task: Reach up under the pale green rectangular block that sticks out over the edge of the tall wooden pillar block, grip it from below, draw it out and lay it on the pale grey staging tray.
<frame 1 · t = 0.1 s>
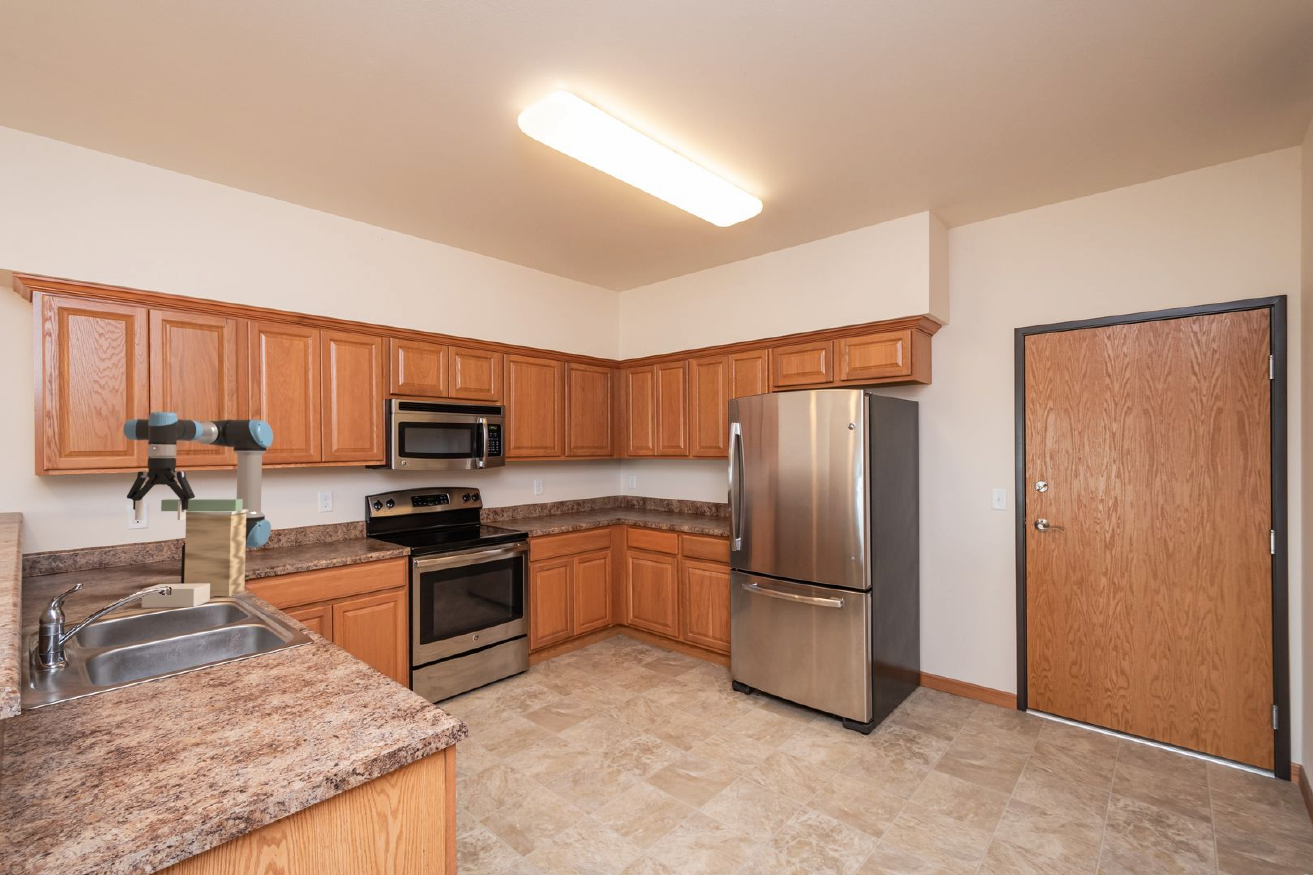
hand: (160, 519, 201), 28 cm above the worktop, tool pointing down, fingers open, 13 cm apart
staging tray: (176, 604, 199), on the worktop
pale green rectangular block: (202, 510, 213), point 30 cm above the worktop, touching tall wooden pillar block
tall wooden pillar block: (214, 594, 213), on the worktop
coffee jar: (198, 586, 225), on the worktop
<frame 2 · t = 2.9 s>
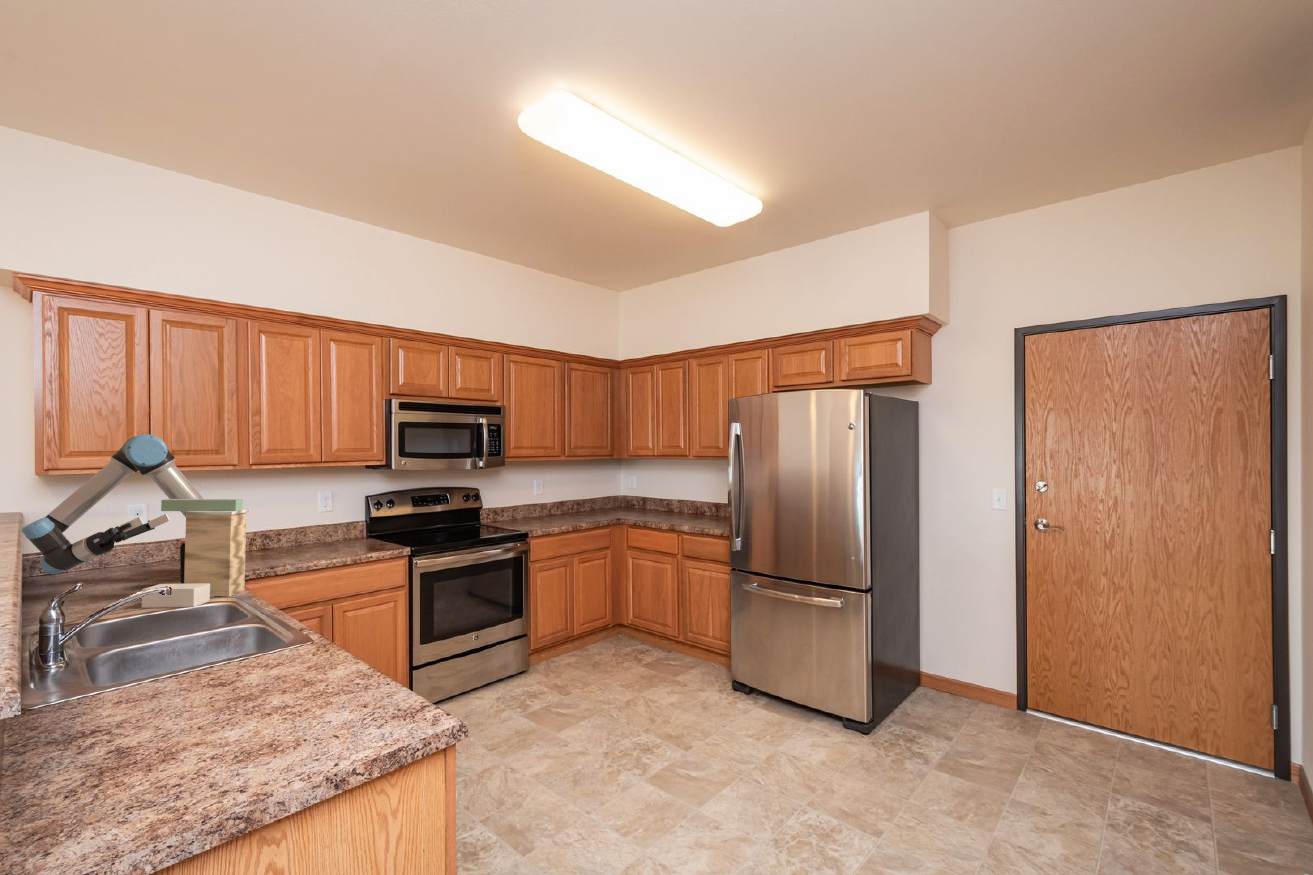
hand: (155, 518, 213), 27 cm above the worktop, tool pointing upward, fingers open, 13 cm apart
coffee jar: (198, 585, 225), on the worktop, touching arm
everything else where it was.
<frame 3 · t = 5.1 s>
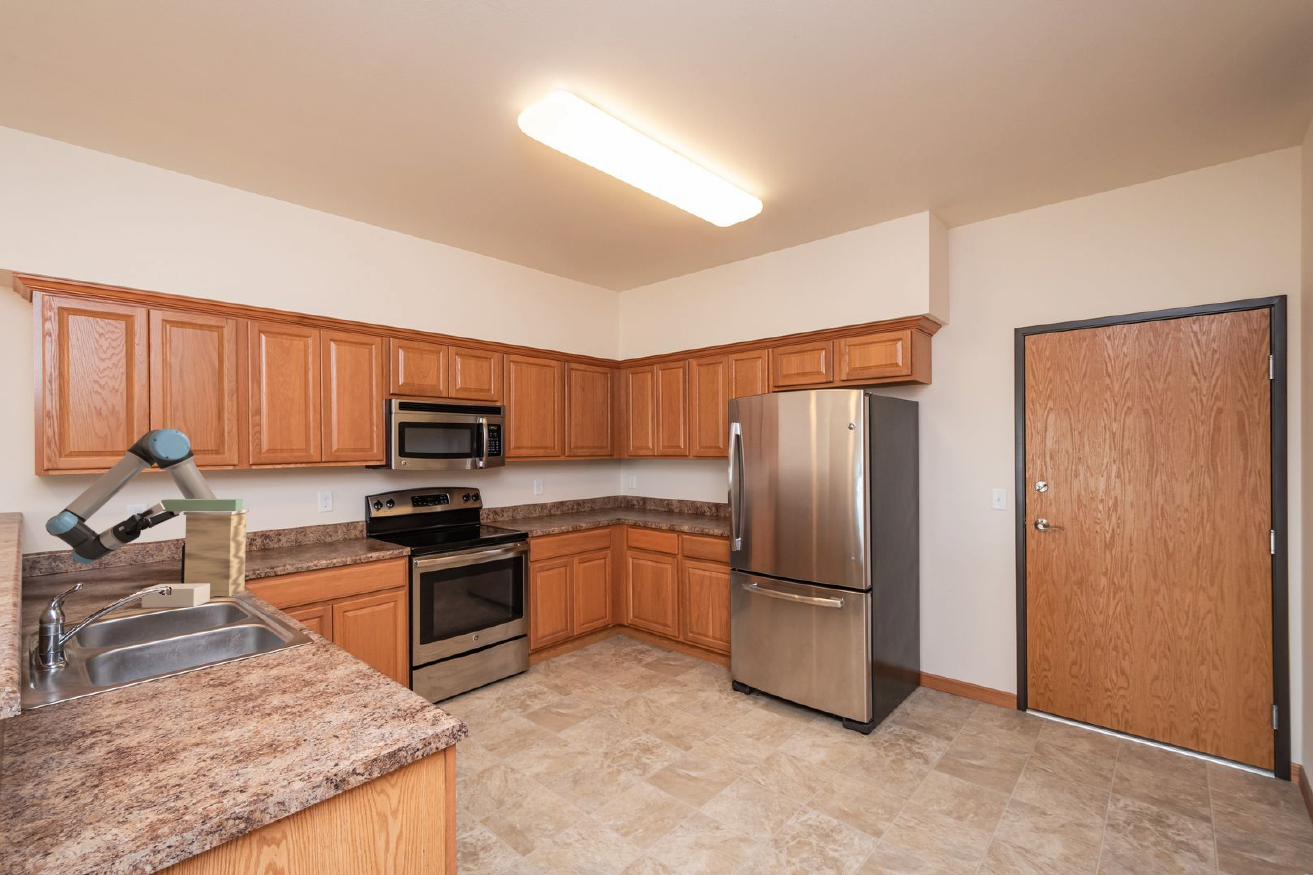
hand: (176, 504, 212), 32 cm above the worktop, tool pointing upward, fingers open, 13 cm apart
coffee jar: (198, 586, 225), on the worktop
everything else where it was.
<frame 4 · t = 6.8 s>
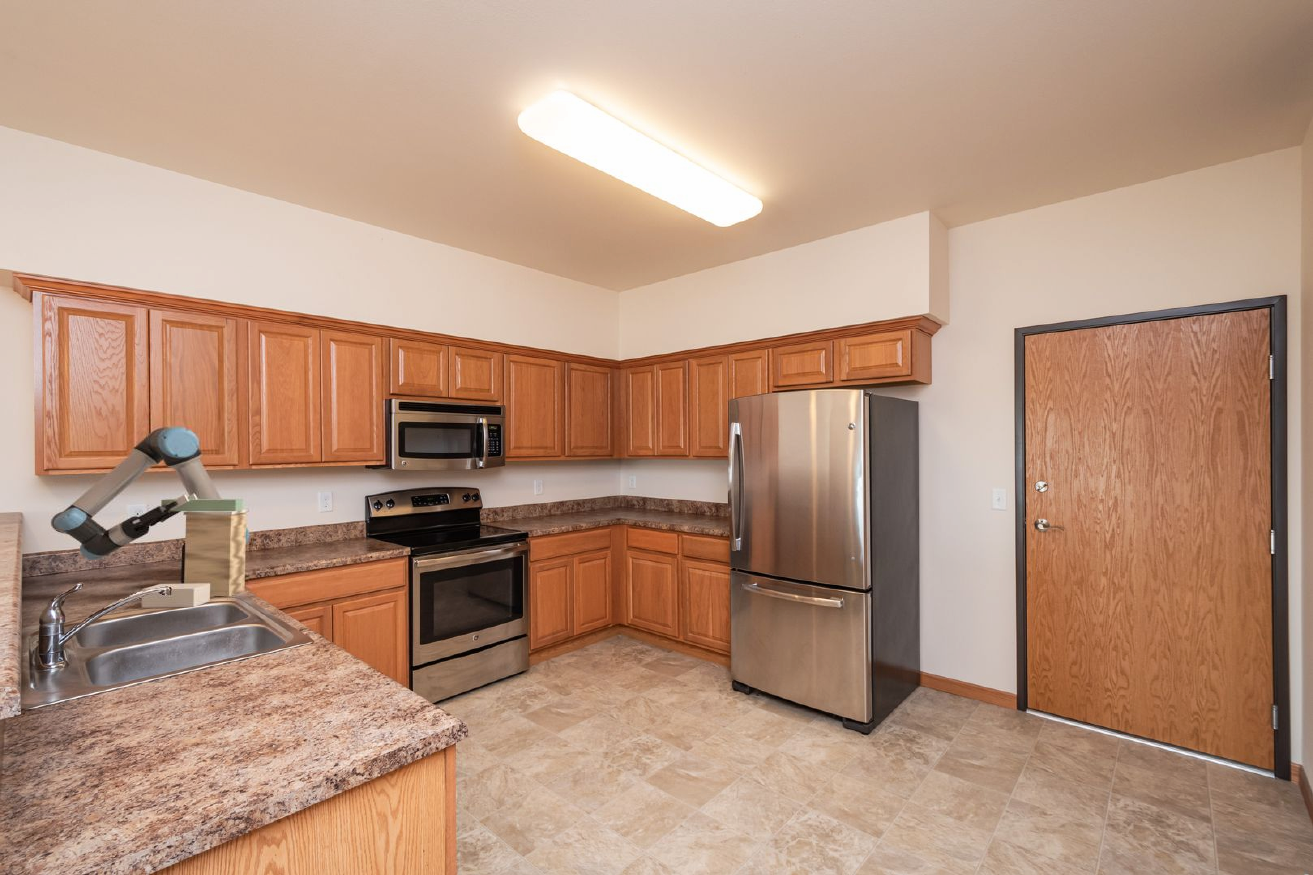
hand: (191, 497, 213), 35 cm above the worktop, tool pointing upward, fingers closed on pale green rectangular block, 4 cm apart
pale green rectangular block: (202, 510, 213), point 30 cm above the worktop, touching tall wooden pillar block, gripper
everything else where it was.
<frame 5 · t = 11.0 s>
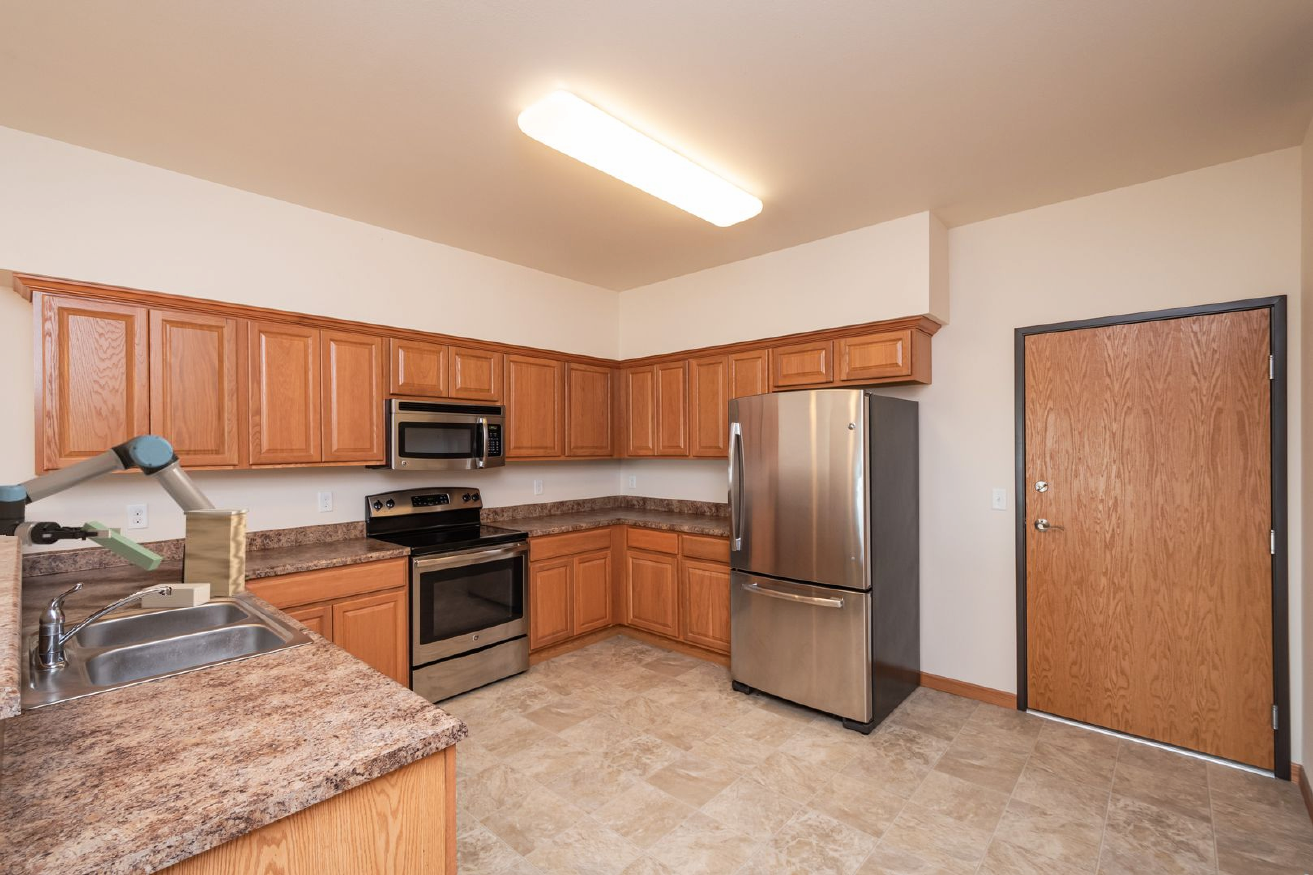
hand: (115, 532, 197), 24 cm above the worktop, tool horizontal, fingers closed on pale green rectangular block, 4 cm apart
pale green rectangular block: (118, 550, 197), point 18 cm above the worktop, tilted 30°, touching gripper
coffee jar: (198, 585, 225), on the worktop, touching arm
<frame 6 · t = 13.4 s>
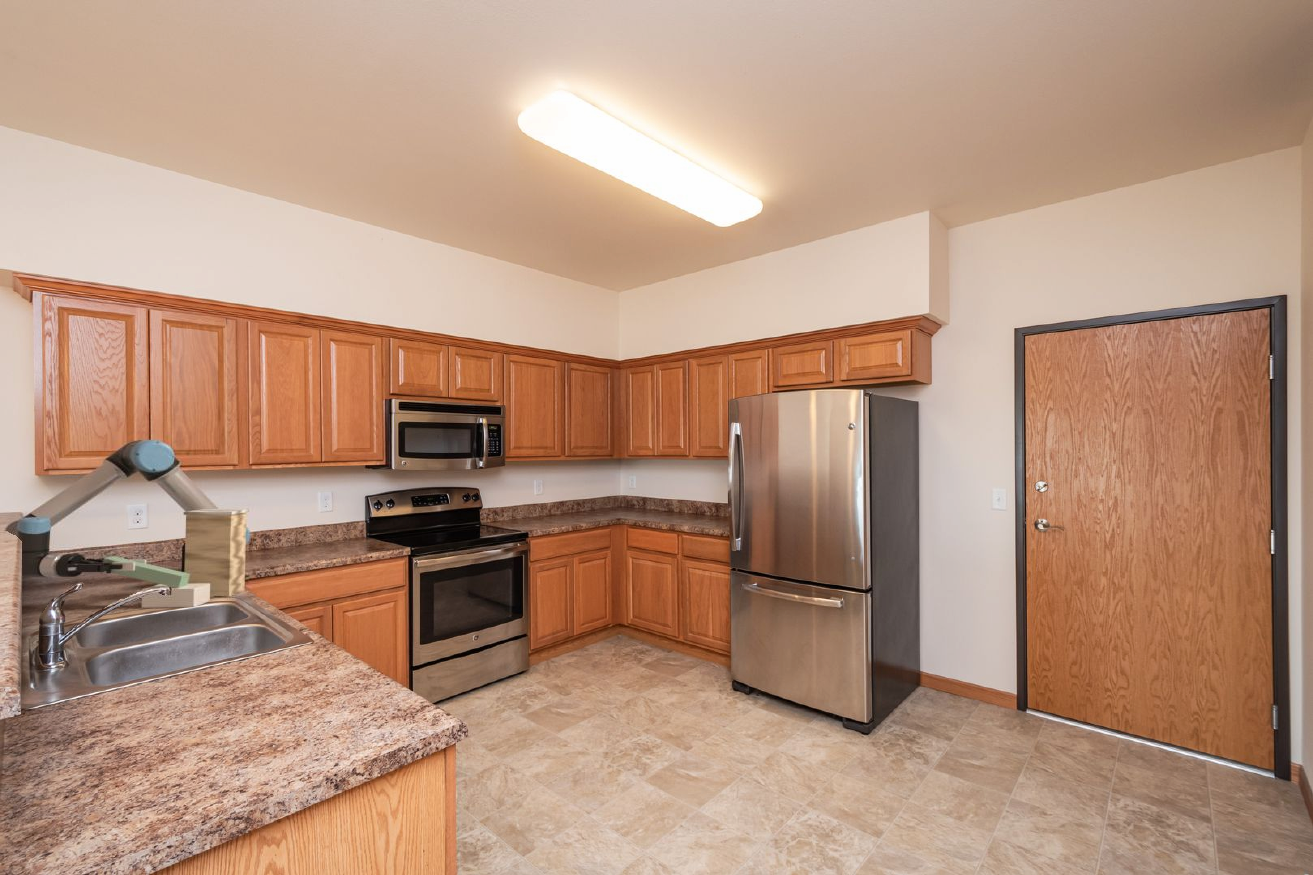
hand: (139, 564, 197), 13 cm above the worktop, tool horizontal, fingers closed on pale green rectangular block, 4 cm apart
pale green rectangular block: (144, 577, 197), point 9 cm above the worktop, tilted 14°, touching gripper
coffee jar: (198, 586, 225), on the worktop
when the fingers open (9 cm above the worktop, at t = 15.0 s): pale green rectangular block stays where it is, resting on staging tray.
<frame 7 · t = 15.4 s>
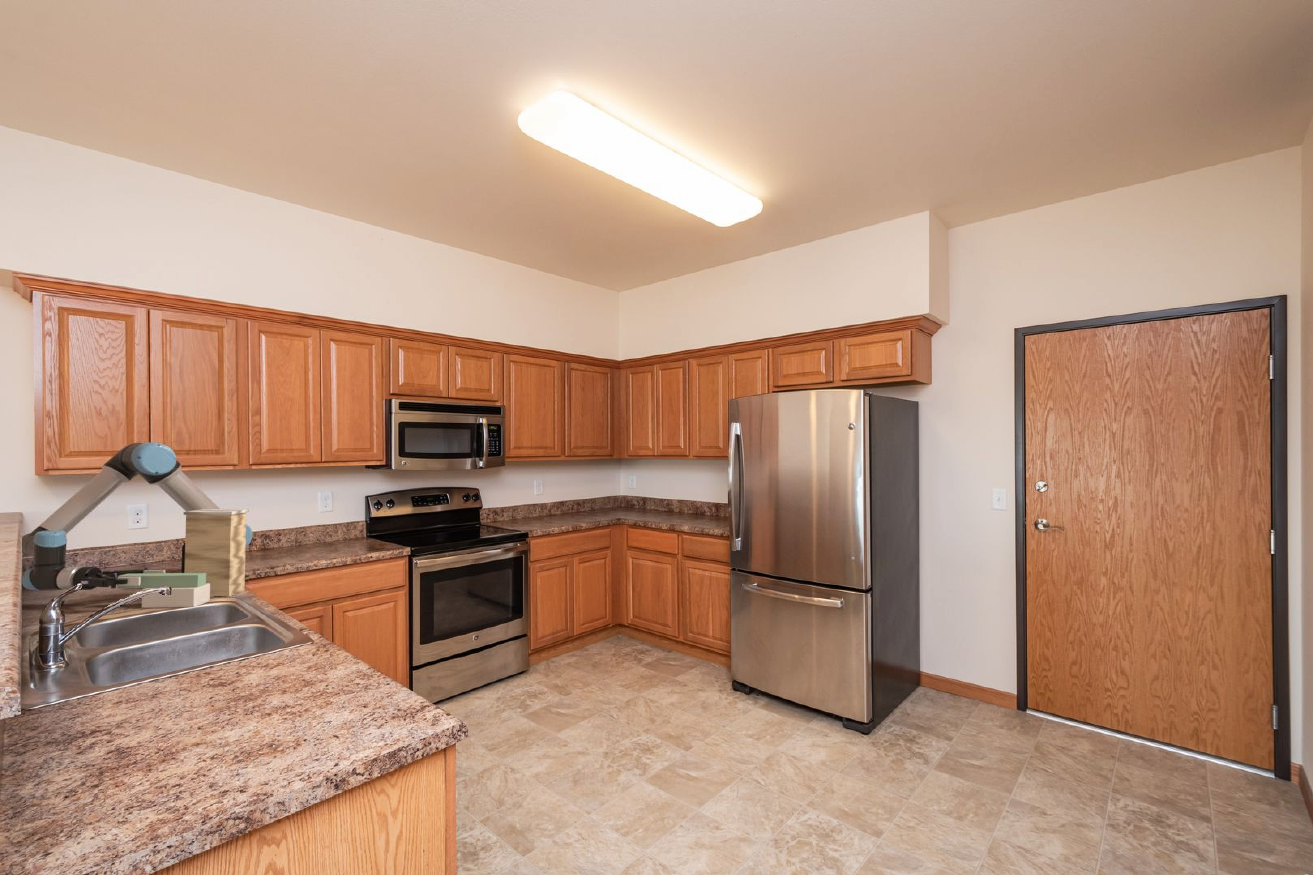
hand: (152, 577, 198), 9 cm above the worktop, tool horizontal, fingers open, 10 cm apart
pale green rectangular block: (162, 586, 198), point 6 cm above the worktop, touching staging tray
everything else where it was.
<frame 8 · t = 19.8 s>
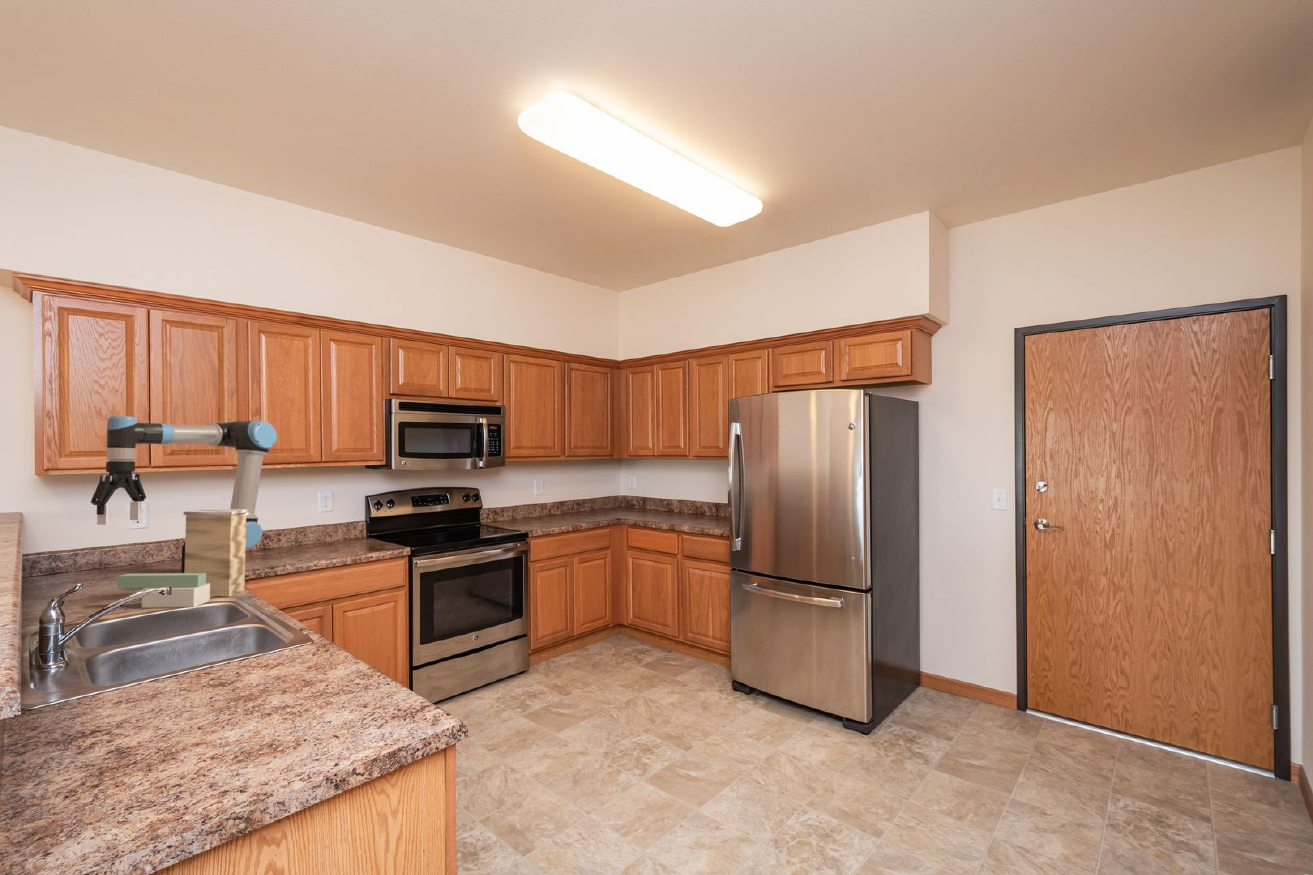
hand: (119, 522, 204), 27 cm above the worktop, tool pointing down, fingers open, 13 cm apart
nothing on the worktop moved.
at the end: pale green rectangular block inside the target area (2.1 cm from its centre), point 6.0 cm above the worktop; the gripper is holding nothing; pale green rectangular block point 6.0 cm above the worktop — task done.
